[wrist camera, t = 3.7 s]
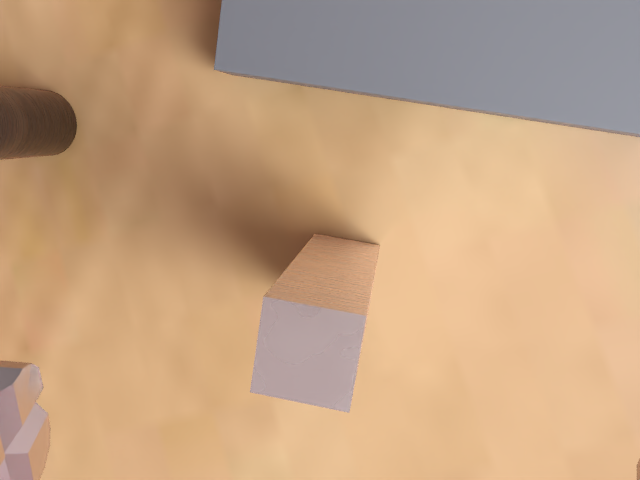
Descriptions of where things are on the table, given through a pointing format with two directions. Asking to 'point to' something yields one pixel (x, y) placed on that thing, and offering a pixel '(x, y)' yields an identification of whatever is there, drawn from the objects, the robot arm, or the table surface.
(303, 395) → the square bit
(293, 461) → the table surface
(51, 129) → the round bit
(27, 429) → the robot arm
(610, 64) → the socket board
